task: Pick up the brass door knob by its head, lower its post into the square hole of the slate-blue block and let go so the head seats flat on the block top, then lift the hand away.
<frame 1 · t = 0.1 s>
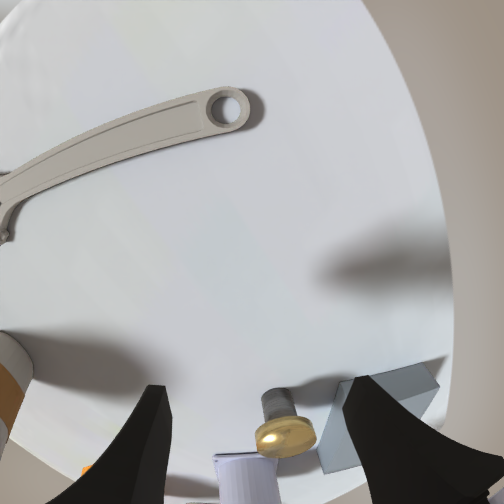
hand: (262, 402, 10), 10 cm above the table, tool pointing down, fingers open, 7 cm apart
coffee cup: (13, 353, 20), on the table
adjustable wrench: (62, 175, 15), on the table
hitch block: (367, 413, 27), on the table
brass door knob: (276, 397, 24), on the table
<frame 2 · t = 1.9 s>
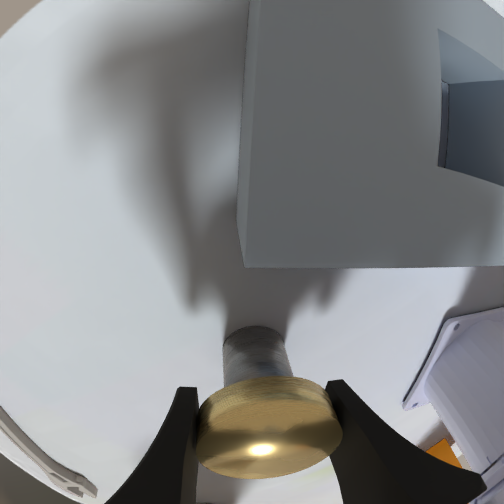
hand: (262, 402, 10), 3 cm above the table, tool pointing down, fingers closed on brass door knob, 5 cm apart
orange juice: (418, 461, 24), on the table
adjustable wrench: (30, 434, 16), on the table
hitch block: (415, 114, 9), on the table
brass door knob: (253, 350, 13), on the table, touching gripper
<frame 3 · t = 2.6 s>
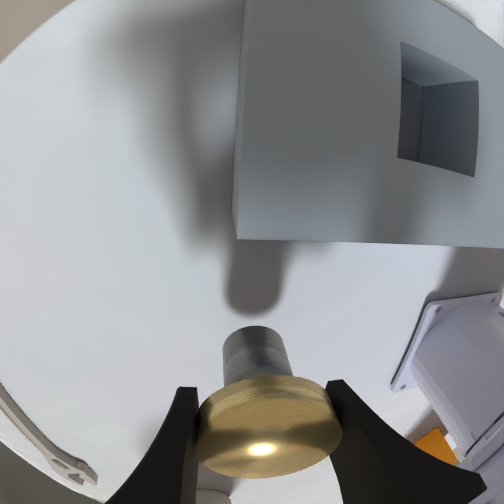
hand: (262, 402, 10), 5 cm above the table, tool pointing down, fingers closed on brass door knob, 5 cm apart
orange juice: (412, 450, 26), on the table
coffee cup: (203, 494, 24), on the table
adjustable wrench: (33, 420, 18), on the table
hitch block: (389, 114, 11), on the table
brass door knob: (253, 349, 13), point 2 cm above the table, touching gripper
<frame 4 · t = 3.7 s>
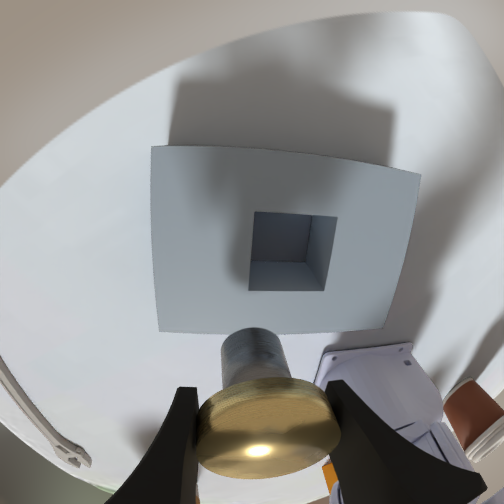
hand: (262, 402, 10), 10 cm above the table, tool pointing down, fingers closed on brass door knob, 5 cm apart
orange juice: (355, 458, 33), on the table
coffee cup 2: (457, 392, 30), on the table
adjustable wrench: (43, 414, 25), on the table
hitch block: (278, 230, 18), on the table
brass door knob: (251, 351, 13), point 7 cm above the table, touching gripper
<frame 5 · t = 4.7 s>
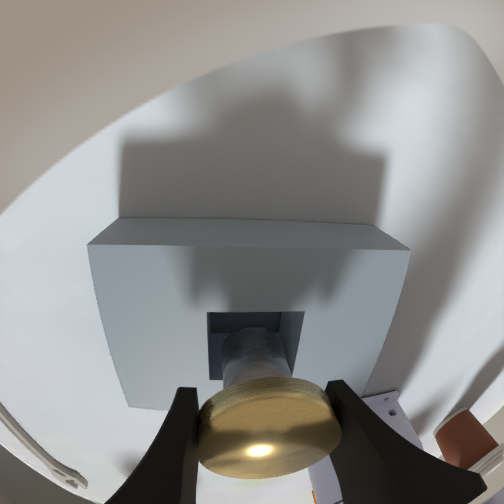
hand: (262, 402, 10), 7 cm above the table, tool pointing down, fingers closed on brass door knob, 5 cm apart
coffee cup 2: (450, 420, 28), on the table
adjustable wrench: (39, 442, 23), on the table
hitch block: (246, 304, 16), on the table
brass door knob: (251, 351, 13), point 4 cm above the table, touching gripper
when the fingers open (6 cm above the table, at t = 5.6 s): brass door knob drops 2 cm, resting on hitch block.
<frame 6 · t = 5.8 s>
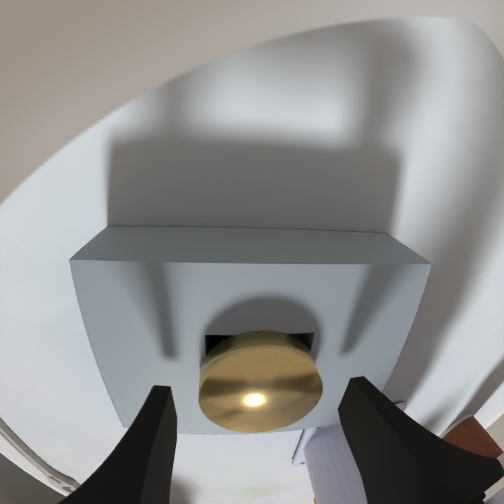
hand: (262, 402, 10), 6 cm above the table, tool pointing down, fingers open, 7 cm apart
coffee cup 2: (454, 427, 27), on the table
adjustable wrench: (34, 449, 22), on the table
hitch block: (248, 319, 15), on the table
brass door knob: (248, 321, 15), resting on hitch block
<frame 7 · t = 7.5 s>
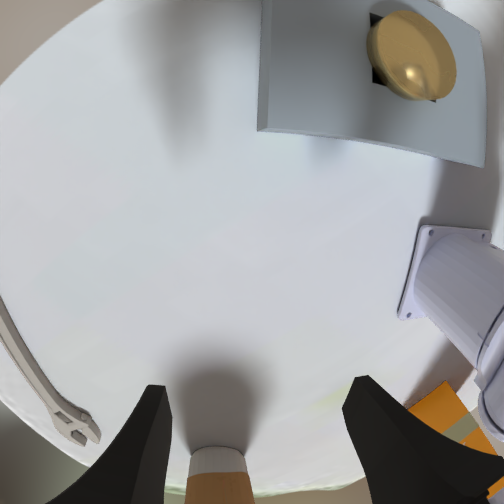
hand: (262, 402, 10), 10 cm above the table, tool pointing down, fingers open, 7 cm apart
orange juice: (423, 409, 29), on the table
coffee cup: (217, 455, 27), on the table
adjustable wrench: (40, 365, 21), on the table
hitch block: (371, 69, 14), on the table
brass door knob: (371, 70, 14), resting on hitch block
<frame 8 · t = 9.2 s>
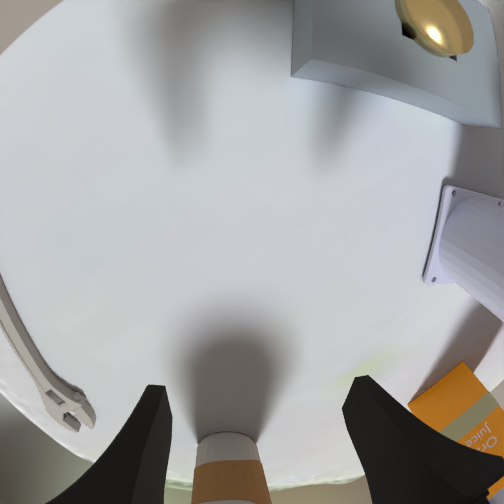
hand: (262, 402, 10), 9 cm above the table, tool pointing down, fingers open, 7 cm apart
orange juice: (438, 392, 28), on the table
coffee cup: (226, 443, 26), on the table
adjustable wrench: (31, 336, 19), on the table
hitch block: (394, 34, 13), on the table
brass door knob: (394, 35, 13), resting on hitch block
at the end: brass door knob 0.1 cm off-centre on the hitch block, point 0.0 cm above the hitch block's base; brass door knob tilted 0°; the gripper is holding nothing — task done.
